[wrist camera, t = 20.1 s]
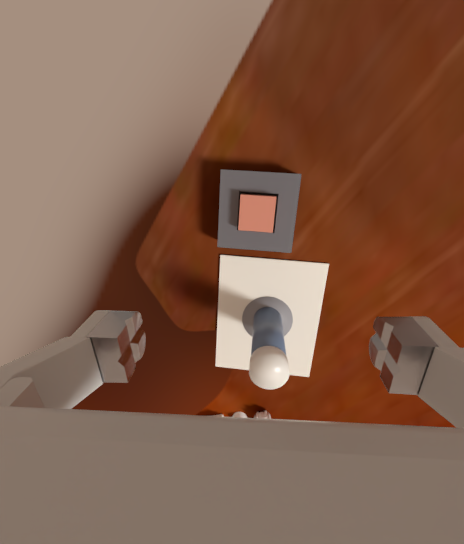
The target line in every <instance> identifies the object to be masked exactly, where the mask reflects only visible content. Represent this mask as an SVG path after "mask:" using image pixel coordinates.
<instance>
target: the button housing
mask: <svg viewBox="0 0 464 544" xmlns="http://www.w3.org/2000/svg"><path fill="white" fill-rule="evenodd" d="M300 181H301V174H292V173H275V172H258V171H240V170H223V169H221V173H220V198H219V223H218V247H224V248H237V249H249V250H261V251H274V252H286V253H291V251H292V243H293V235H294V228H295V220H296V212H297V204H298V197H299V189H300ZM242 193H245V194H261V195H276V207H275V216H274V226H273V233H270V232H256V231H243V230H238V226H239V210H240V195H241V194H242Z"/></svg>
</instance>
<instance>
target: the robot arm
mask: <svg viewBox="0 0 464 544" xmlns="http://www.w3.org/2000/svg"><path fill="white" fill-rule="evenodd" d="M141 324H142V318H141V314H140V313H139V312H133V311H131V312H130V311H109V310H107V311H106V310H98V311H95V312H94V313H93V314H92V315H91V316H90V317H89V318H88V319H87V320H86V321H85V322H84V323H83V324H82V325H81V326H80V328H78V329H77V331H75V333H74V334H73V335H72V336H71V337H65V338H62V339H60V340H58V341H56V342H54V343H51V344H49V345H47V346H45V347H43V348H41V349H38V350H36V351H34V352H32V353H30V354H27V355H25V356H23V357H21V358H19V359H16V360H14V361H12V362H10V363H8V364H6V365H3V366H1V367H0V544H464V348H459V347H458V346H457V345H456V344H455V343H454V342H453V341H452V340H451V339H450V338H449V337H448V336H447V335H446V334H445V333H444V332H443V331H442V330H441V329H440V328H439V327H438V326H437V325H436V324H435V323H434V322H433V321H432V320H431V319H430V318H428V317H425V316H415V317H377V318H376V319H375V321H374V325H373V328H374V330H375V331H376V334H375V335H373V336H372V337H371V339H370V344H369V352H370V357H371V361H372V363H373V364H374V366H375V367H376V368H378V369H379V370H381V374H380V378H381V379H382V381H383V383H384V385H385V387H386V389H387V390H388V392H389V393H396V394H411V395H418V397H420V398H421V399H422V400H423V401H425V402H426V403H427V404H428V405H429V406H431V407H432V408H433V409H434V410H436V411H437V412H438V413H439V414H441V415H442V416H443V417H444V418H446V419H447V420H448V421H449V422H450V423H452V424H453V425H454V426H455V427H457V428H449V427H427V426H407V425H387V424H366V423H346V422H326V421H306V420H285V419H264V418H242V417H221V416H199V415H178V414H158V413H137V412H117V411H97V410H76V409H72V408H73V407H74V406H75V405H77V404H78V403H79V402H80V401H82V400H83V399H84V398H85V397H87V396H88V395H89V394H90V393H92V392H93V391H94V390H96V389H97V388H98V387H99V386H101V385H102V384H103V382H120V383H122V382H123V383H127V382H129V380H130V378H131V376H132V374H133V372H134V370H135V369H136V367H135V362H136V361H138V360H139V359H141V357H142V355H143V353H144V349H145V344H146V338H145V332H144V331H143V330H142V329H141V328H140V325H141Z"/></svg>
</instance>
